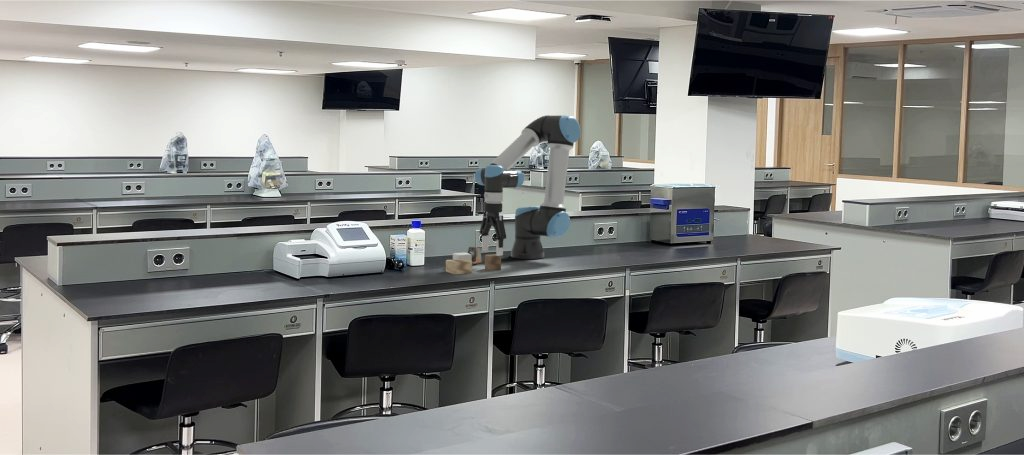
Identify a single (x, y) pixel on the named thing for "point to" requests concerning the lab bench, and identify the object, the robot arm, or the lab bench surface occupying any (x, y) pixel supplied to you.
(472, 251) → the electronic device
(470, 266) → the oak base
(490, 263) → the walnut block
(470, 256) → the grey cube
